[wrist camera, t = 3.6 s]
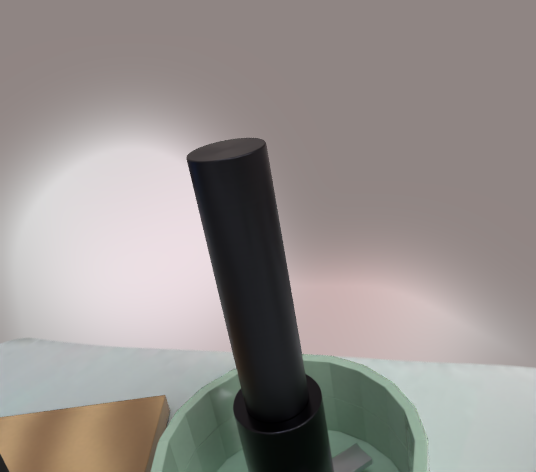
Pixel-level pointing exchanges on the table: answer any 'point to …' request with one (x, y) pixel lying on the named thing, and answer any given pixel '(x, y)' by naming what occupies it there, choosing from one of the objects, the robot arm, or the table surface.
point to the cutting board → (86, 437)
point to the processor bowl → (336, 412)
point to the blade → (261, 314)
